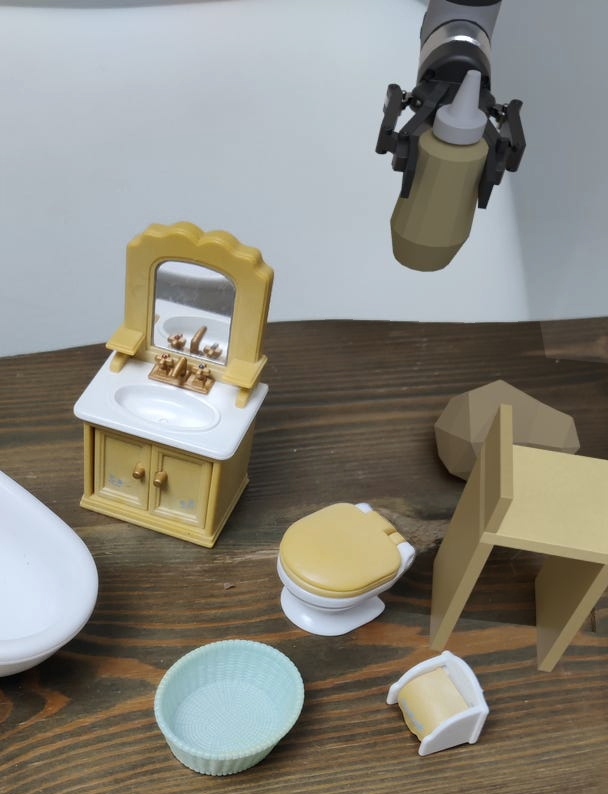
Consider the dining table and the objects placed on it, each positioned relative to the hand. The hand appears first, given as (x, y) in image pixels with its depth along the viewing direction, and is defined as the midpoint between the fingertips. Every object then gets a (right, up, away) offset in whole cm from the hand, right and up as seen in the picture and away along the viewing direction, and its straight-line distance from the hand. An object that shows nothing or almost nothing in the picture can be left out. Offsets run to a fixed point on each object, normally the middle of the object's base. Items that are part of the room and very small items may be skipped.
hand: (447, 189), depth 90 cm
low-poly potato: (+9, -24, +15) cm, 29 cm away
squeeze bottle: (+1, -2, +11) cm, 11 cm away
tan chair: (+5, -39, +3) cm, 40 cm away
